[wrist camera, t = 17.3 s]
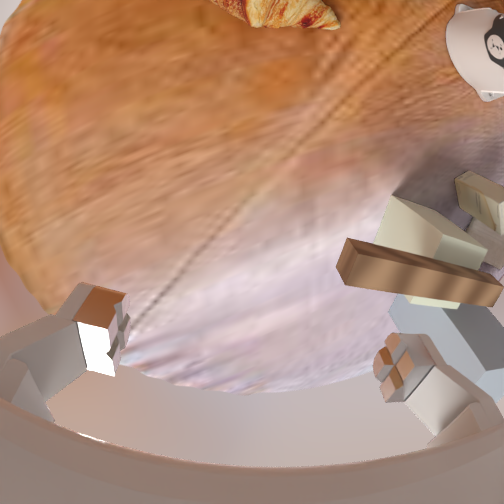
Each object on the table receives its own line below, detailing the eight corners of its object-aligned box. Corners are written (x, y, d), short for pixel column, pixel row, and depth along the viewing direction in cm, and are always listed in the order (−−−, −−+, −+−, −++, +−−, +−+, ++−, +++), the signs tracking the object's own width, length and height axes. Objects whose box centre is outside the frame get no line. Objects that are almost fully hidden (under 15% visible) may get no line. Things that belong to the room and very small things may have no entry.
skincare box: (453, 178, 41) (498, 202, 31) (469, 169, 40) (514, 191, 30) (459, 208, 44) (500, 237, 33) (474, 199, 43) (516, 225, 32)
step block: (370, 250, 47) (409, 303, 34) (391, 194, 43) (443, 234, 29) (414, 260, 48) (456, 309, 35) (435, 210, 44) (487, 249, 31)
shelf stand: (388, 312, 54) (444, 417, 31) (409, 269, 49) (486, 371, 26) (440, 317, 56) (496, 402, 33) (461, 280, 51) (530, 362, 28)
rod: (335, 266, 31) (345, 285, 28) (347, 237, 29) (358, 253, 26) (480, 294, 34) (492, 307, 31) (490, 274, 33) (504, 286, 30)
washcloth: (496, 265, 51) (504, 272, 48) (453, 248, 48) (462, 256, 46) (517, 221, 46) (525, 226, 43) (477, 194, 43) (487, 200, 40)
